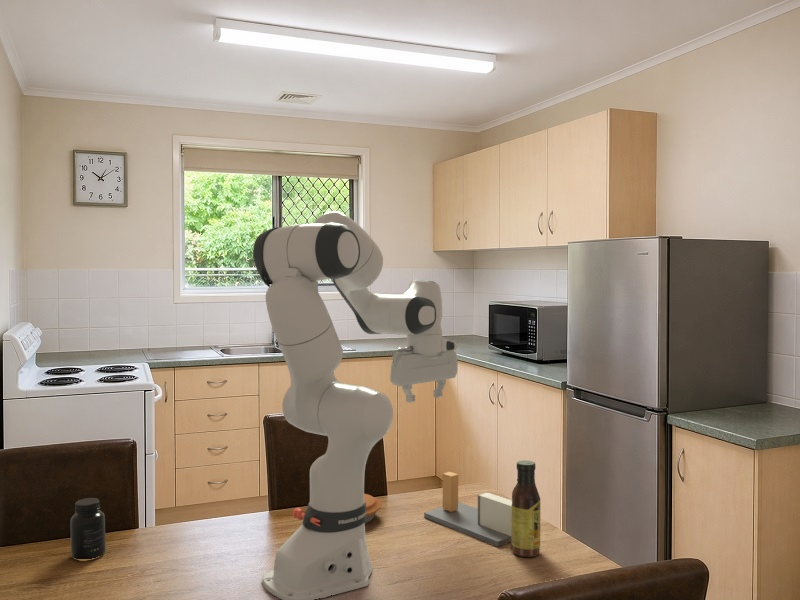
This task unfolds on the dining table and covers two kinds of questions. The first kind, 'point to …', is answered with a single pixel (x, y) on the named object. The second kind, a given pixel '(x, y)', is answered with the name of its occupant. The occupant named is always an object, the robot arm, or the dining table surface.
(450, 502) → the tan wooden beam
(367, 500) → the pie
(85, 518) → the supplement bottle
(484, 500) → the grey base plate
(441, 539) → the dining table surface
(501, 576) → the dining table surface
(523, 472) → the sauce bottle
